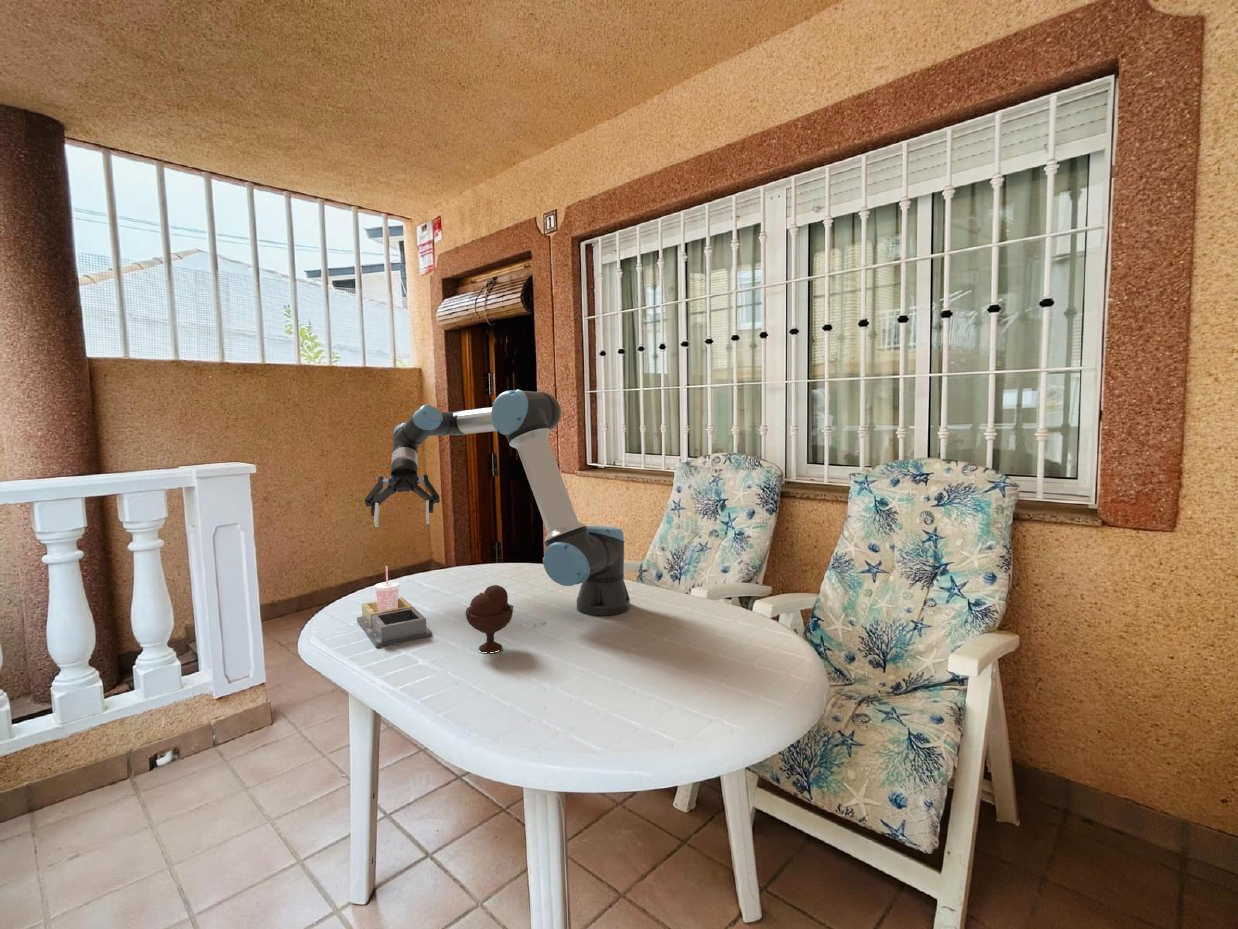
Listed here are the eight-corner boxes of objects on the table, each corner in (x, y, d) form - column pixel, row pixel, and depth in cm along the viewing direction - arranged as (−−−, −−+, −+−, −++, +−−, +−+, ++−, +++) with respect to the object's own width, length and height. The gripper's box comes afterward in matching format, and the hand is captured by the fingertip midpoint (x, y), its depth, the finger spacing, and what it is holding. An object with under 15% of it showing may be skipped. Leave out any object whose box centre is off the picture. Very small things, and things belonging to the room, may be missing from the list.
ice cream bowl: (496, 636, 142) (496, 576, 141) (523, 649, 134) (522, 586, 133) (457, 648, 134) (456, 585, 133) (483, 663, 126) (482, 595, 125)
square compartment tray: (432, 635, 142) (431, 618, 142) (376, 647, 135) (375, 629, 134) (407, 611, 160) (407, 595, 160) (356, 621, 153) (356, 604, 152)
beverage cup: (375, 623, 148) (374, 569, 147) (375, 616, 154) (373, 564, 152) (401, 620, 150) (399, 567, 149) (399, 613, 156) (398, 562, 155)
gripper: (447, 472, 182) (448, 527, 168) (362, 475, 175) (355, 533, 162) (446, 456, 176) (447, 512, 163) (358, 459, 170) (351, 517, 156)
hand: (402, 522), depth 162 cm, fingers open, 13 cm apart
